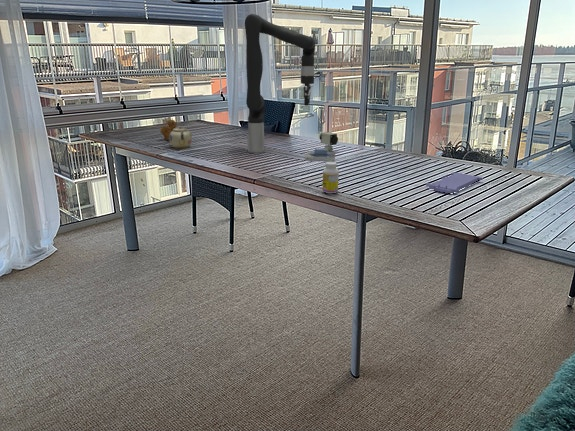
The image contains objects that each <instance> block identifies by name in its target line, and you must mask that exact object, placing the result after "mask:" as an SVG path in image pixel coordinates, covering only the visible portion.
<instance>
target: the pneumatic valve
mask: <svg viewBox="0 0 575 431" xmlns="http://www.w3.org/2000/svg"><path fill="white" fill-rule="evenodd" d="M319 140H320V144H325V145H324V148H323V149H327V152H333V148H334V147H333V146H334V145H335V146H336V145H337V144H338V142H339V137H338V134H337V133H334V132H331V131H330V130H329V131H324V132H321V134H320V136H319Z"/></svg>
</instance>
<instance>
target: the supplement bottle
mask: <svg viewBox="0 0 575 431" xmlns="http://www.w3.org/2000/svg"><path fill="white" fill-rule="evenodd" d="M324 165H325V168H324V169H323V170H322V190H321V191H322V193H323V192H326V193H336V192H337V193H338V192H339V173H340V172H339V169H338V168H337V166H338V163H337V162H335V161H325V164H324ZM337 193H336V194H337Z"/></svg>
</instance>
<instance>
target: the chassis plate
mask: <svg viewBox="0 0 575 431" xmlns="http://www.w3.org/2000/svg"><path fill="white" fill-rule="evenodd" d="M311 152H314V151H313V150H311V151H310V150H309V151H308V150H307V152H306V155H305V156H304V161H307V162H308V161H309V162H310V161H312V162H313V161H314V162H335V160H336V151H332V152H327V153H331V155H327V156H313V155H311Z"/></svg>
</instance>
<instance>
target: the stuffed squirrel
mask: <svg viewBox="0 0 575 431" xmlns="http://www.w3.org/2000/svg"><path fill="white" fill-rule="evenodd" d="M166 123H167V124H168V125H165V126H162V127H161V128H160V129H159V130H160V133H161V134H162V135H163V138H164V140H165V141H166V142H167V141H168V142H170V139H169V137H170V133H171V132H172V131H173V129H175V128H177V127H179V124H178V122H177V121H176V120H174V119H169V120H166Z"/></svg>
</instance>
